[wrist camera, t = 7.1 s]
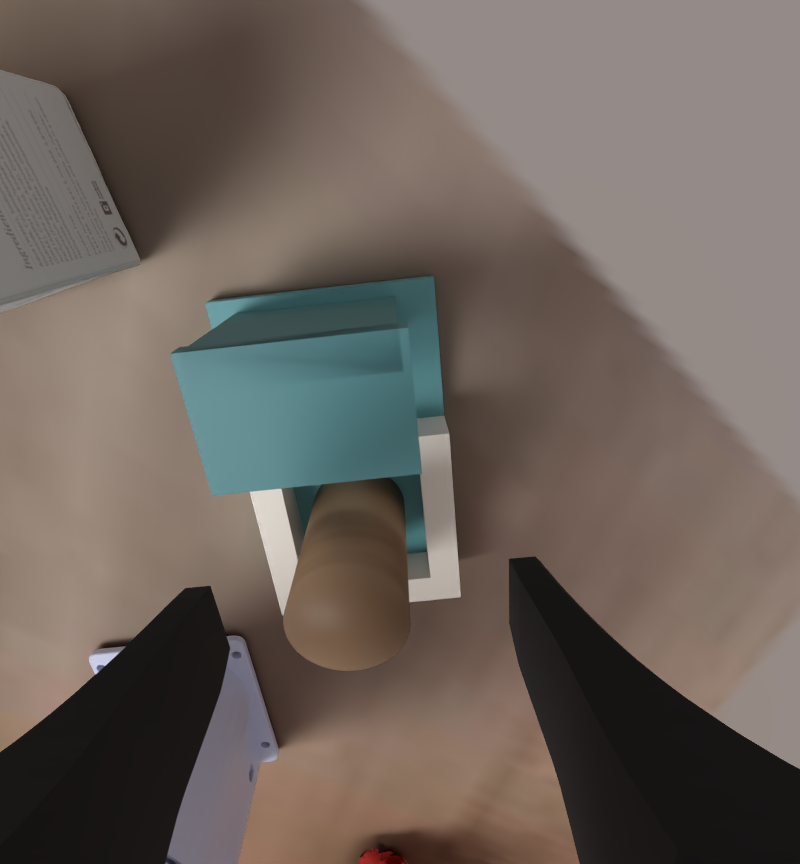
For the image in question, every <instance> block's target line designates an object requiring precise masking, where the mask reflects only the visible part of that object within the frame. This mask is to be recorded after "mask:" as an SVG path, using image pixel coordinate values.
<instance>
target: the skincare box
mask: <svg viewBox="0 0 800 864" xmlns="http://www.w3.org/2000/svg"><path fill="white" fill-rule="evenodd" d="M139 264H140V258H139V255H138V253H137V251H136V249H135V246H134V244H133V242H132V240H131V237H130V235H129V233H128V231H127V229H126V227H125V225H124V223H123V221H122V219H121V217H120V215H119V213H118V210H117V208H116V206H115V204H114V201H113V199H112V197H111V195H110V192H109V190H108V188H107V186H106V184H105V181H104V179H103V177H102V175H101V172H100V170H99V167H98V165H97V162H96V160H95V158H94V156H93V154H92V152H91V149H90V147H89V145H88V143H87V141H86V138H85V136H84V134H83V132H82V130H81V127H80V125H79V123H78V121H77V119H76V117H75V115H74V112H73V110H72V108H71V105H70V103H69V101H68V99H67V98H66V96H65V95H64V93H62V92H61V91H60V90H59V88H58V87H56V86H54V85H51V84H48V83H45V82H41V81H38V80H34V79H30V78H27V77H24V76H21V75H17V74H14V73H10V72H7V71H4V70H0V313H2V312H5V311H8V310H11V309H14V308H17V307H20V306H22V305H25V304H28V303H31V302H33V301H36V300H39V299H42V298H44V297H47V296H50V295H53V294H55V293H58V292H61V291H64V290H66V289H69V288H72V287H74V286H77V285H80V284H82V283H85V282H88V281H90V280H93V279H95V278H97V277H100V276H104V275H108V274H111V273H114V272H117V271H121V270H124V269H128V268H131V267H134V266H137V265H139Z"/></svg>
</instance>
